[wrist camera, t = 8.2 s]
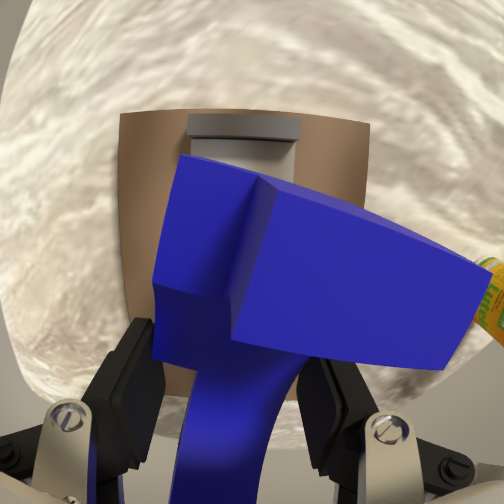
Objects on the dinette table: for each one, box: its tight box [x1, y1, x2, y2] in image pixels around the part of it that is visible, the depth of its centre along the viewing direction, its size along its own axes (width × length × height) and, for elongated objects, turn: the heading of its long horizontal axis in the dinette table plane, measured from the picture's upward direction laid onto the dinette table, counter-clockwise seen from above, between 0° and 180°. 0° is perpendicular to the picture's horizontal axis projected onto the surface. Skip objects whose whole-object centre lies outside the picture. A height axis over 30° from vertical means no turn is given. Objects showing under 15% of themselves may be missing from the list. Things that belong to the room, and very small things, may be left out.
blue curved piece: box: [152, 154, 493, 504], centre depth 7 cm, size 12×4×6 cm, turn 163°
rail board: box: [118, 109, 370, 400], centre depth 16 cm, size 13×18×4 cm
